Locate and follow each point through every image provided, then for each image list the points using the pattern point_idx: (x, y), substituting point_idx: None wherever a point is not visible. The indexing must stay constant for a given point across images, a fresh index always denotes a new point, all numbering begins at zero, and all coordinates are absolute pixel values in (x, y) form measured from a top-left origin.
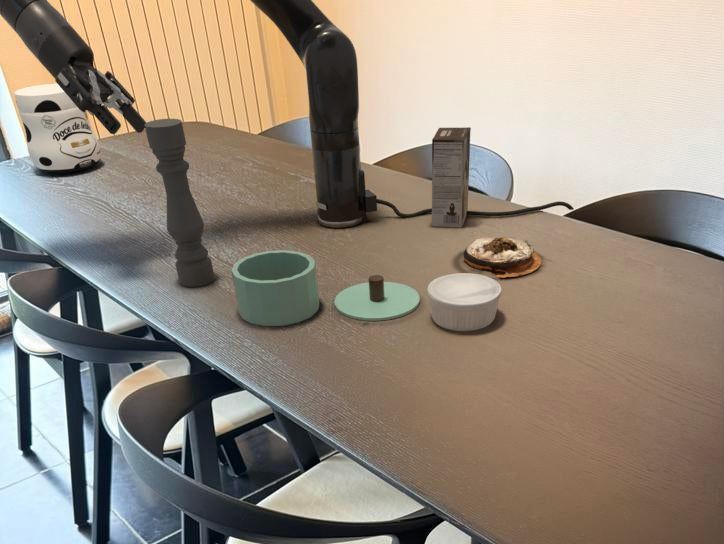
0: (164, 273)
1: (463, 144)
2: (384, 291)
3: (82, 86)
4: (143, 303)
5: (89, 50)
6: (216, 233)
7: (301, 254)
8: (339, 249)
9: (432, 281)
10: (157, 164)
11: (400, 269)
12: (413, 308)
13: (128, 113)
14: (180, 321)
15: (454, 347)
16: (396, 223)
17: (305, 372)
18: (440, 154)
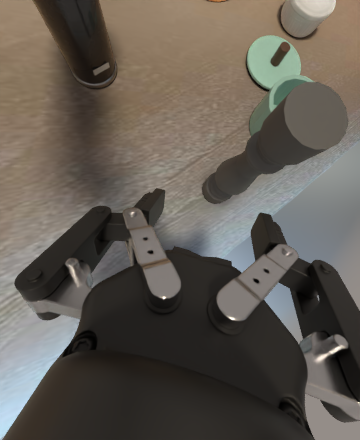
0: (197, 218)
1: None
2: (264, 55)
3: (328, 298)
4: (252, 225)
5: (182, 373)
6: (106, 184)
7: (279, 83)
8: (167, 78)
9: (304, 10)
10: (271, 169)
11: (215, 41)
12: (289, 43)
13: (151, 219)
14: (282, 193)
15: (326, 35)
16: (112, 23)
17: (347, 116)
18: None
